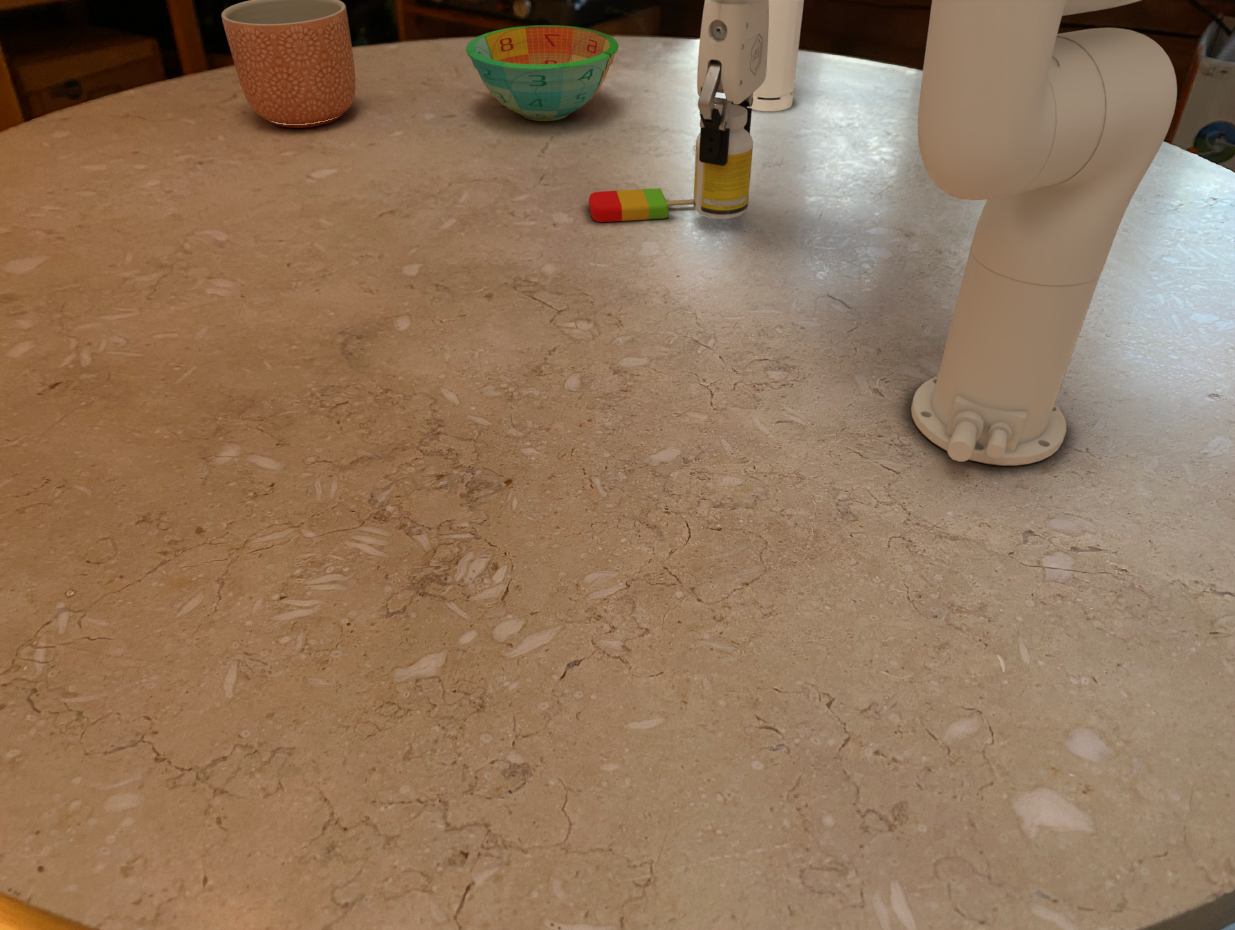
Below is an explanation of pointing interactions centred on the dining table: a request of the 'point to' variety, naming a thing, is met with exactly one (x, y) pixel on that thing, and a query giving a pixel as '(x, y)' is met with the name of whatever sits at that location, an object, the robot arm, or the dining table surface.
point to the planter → (293, 58)
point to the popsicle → (631, 205)
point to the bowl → (543, 67)
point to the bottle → (780, 55)
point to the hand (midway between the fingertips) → (724, 150)
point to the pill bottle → (726, 172)
